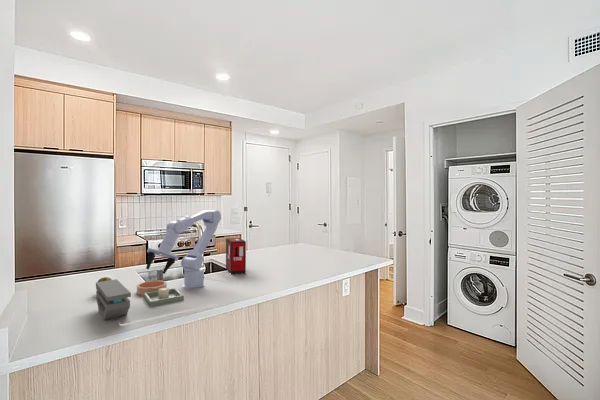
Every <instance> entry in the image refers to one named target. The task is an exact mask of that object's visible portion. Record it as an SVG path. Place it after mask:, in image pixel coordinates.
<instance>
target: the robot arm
mask: <svg viewBox="0 0 600 400" xmlns="http://www.w3.org/2000/svg"><path fill="white" fill-rule="evenodd" d="M201 220H202V222H203V225H204V226H205V228H204V230H203V232H202V234H201V235H200V237H199V239H198V241H197V242H196V243H195V246H194V247H193V249H192V250H191V251H190V252H187V254H186V255H185V256H184V257H183V258H182V259H181V261H180V266H181V267H182V269H183V273H184V275H183V279H184V281H183V284H181V286H182V287H183V288H185V290H188V289H193V288H199V287H200V288H203V287H205V285H204V284H205V283H204V281H205V279H204V278H205V277H204V270H203V268H202V265H203V261H204V257H203V254H204V252H205V251H206V249H207V247H208V245H209V243H210V241H211V240H212V238H213V237H214V236H215V235H214V234H215V233H216V231H217V229H218V225H219V223H220V222H221V220H222V214H221V212H220V210H218V209H217V210H215V209H214V210H213V209H211V210H210V209H204V210H201V211H200V212H198V213H196V214H194V215H192V216H190V215H184V216H183V217H181V218H178V219H176V220H175V221H174V220H173V221H172V220H171V221H170V222H169V223H168V224H166V231H165V235H164V237H163V239H162V241H161V243H160V246H159V247H158V249H155V248H150V247H148V248H147V250H146V252H147V263H146V264H147V265H146V267H145V269H147V270H149V269H150V267H151V265H152V263H153V261H154V259H155V258H156V256H159V257H163V258H166V259H167V261H166V263H165V266H164V268H163V270H162V272H161V273H162V275H163V274H164V275H166V272H167V271H168V270H169V269H170V268H171V267H172V265H174V264H175V263H176V262H178V260H179V258H180V257H179V256H178V255H175V254H173V253H171V252H172V250H173V249H174V246H175V244H176V241H177V239H178V237H179V235H180V234H181V233H184V232H185V230H186V229H188V228H190V227H193V226H194V223H196V222H200V221H201Z"/></svg>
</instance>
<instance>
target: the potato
mask: <svg viewBox="0 0 600 400" xmlns="http://www.w3.org/2000/svg"><path fill="white" fill-rule="evenodd" d="M108 280H113V279H112V278H110V277H106V276H104V277H102V278H100V279H98V280H97V282H102V281H108ZM95 287H96V286H95ZM97 290H98V288H97V287H96V291H97Z"/></svg>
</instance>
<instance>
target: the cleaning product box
mask: <svg viewBox="0 0 600 400" xmlns="http://www.w3.org/2000/svg"><path fill="white" fill-rule="evenodd" d="M246 243H247V241H245V240H244V239H242V238H240V237H233V238H231V237H230V238H225V269H226V270H227V272H228V273H229V272H230V273H231V274H230V273H229V274H230V275H232V274H233V275H241V273H243V274H246V271H247V270H246V269H247V268H246V267H247V266H246V263H247V262H246V259H247V257H246V255H247V253H246V251H247V249H246V248H247V245H246Z"/></svg>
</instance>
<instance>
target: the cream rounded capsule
mask: <svg viewBox="0 0 600 400" xmlns="http://www.w3.org/2000/svg"><path fill="white" fill-rule="evenodd" d="M169 289H170V288H169V287H167V288H161V289H159V290H158V299H164V298H169Z"/></svg>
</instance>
